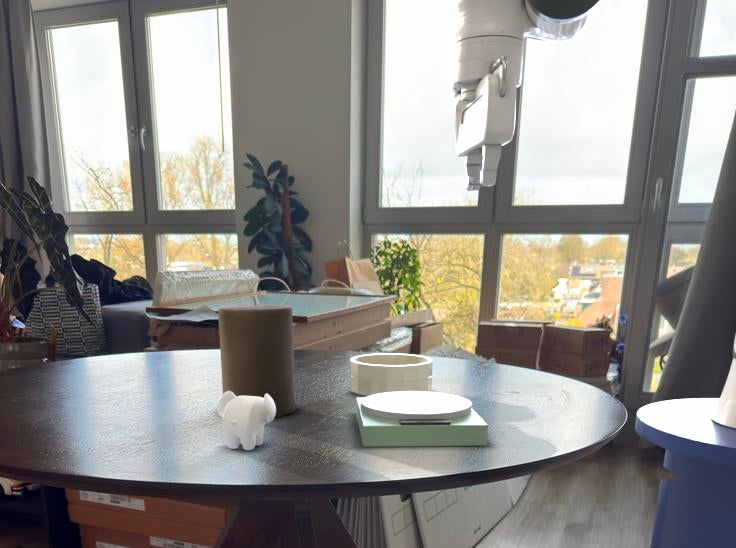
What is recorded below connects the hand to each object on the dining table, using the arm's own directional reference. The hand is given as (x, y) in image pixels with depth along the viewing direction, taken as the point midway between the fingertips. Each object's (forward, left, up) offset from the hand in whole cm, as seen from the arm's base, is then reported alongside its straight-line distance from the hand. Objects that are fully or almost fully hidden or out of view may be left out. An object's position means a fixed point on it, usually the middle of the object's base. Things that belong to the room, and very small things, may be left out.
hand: (480, 188), depth 98 cm
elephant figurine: (+30, +27, -29) cm, 50 cm away
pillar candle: (+30, +9, -29) cm, 43 cm away
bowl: (+11, -3, -28) cm, 31 cm away
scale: (+10, +20, -28) cm, 36 cm away
